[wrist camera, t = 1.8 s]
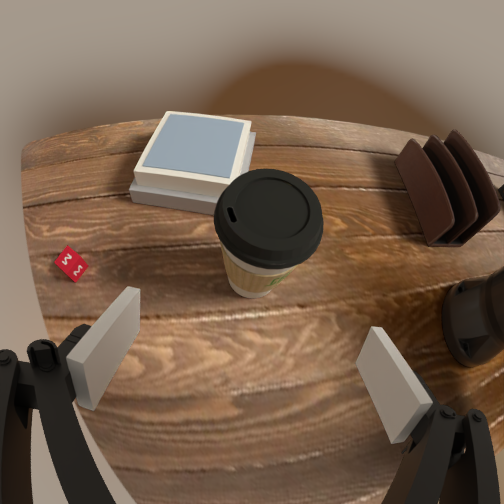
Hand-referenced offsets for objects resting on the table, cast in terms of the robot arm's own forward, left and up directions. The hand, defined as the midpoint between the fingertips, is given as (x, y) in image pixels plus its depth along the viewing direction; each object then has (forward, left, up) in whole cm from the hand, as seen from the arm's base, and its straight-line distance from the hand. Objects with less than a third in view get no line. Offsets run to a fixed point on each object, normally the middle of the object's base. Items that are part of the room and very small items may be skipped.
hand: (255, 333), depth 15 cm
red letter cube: (+23, -7, -19) cm, 31 cm away
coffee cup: (-1, -11, -19) cm, 22 cm away
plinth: (+10, -27, -19) cm, 35 cm away
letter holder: (-33, -32, -19) cm, 50 cm away
